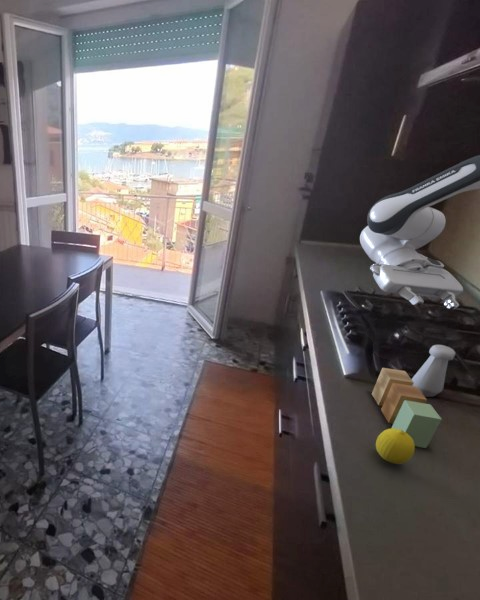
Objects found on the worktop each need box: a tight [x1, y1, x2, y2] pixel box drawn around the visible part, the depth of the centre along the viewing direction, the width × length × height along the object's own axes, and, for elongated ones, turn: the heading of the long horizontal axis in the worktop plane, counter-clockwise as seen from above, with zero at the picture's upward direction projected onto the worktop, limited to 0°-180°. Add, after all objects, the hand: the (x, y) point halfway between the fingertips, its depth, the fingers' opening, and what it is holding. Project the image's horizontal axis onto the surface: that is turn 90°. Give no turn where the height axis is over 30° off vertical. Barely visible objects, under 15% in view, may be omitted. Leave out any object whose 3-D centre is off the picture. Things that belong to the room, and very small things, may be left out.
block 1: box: [371, 367, 414, 407], centre depth 85 cm, size 4×4×8 cm
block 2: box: [380, 383, 428, 425], centre depth 80 cm, size 4×4×8 cm
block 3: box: [391, 400, 443, 449], centre depth 75 cm, size 4×4×8 cm
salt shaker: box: [411, 344, 456, 398], centre depth 87 cm, size 6×6×13 cm
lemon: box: [375, 428, 416, 465], centre depth 70 cm, size 6×6×8 cm
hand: (436, 305), depth 87 cm, fingers open, 8 cm apart
